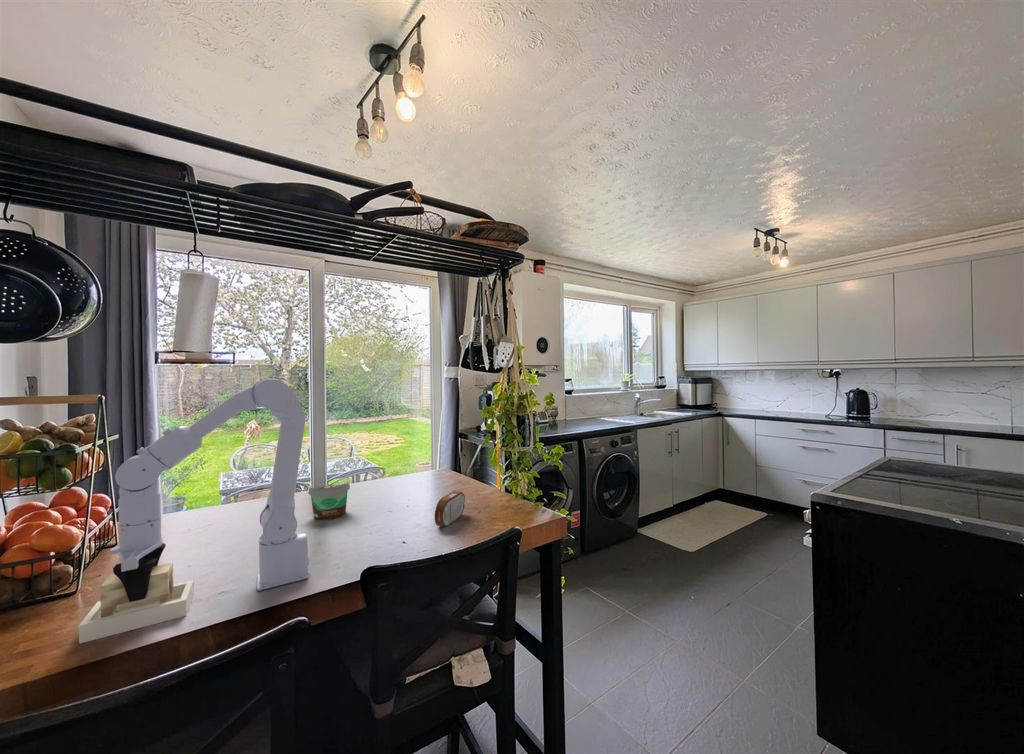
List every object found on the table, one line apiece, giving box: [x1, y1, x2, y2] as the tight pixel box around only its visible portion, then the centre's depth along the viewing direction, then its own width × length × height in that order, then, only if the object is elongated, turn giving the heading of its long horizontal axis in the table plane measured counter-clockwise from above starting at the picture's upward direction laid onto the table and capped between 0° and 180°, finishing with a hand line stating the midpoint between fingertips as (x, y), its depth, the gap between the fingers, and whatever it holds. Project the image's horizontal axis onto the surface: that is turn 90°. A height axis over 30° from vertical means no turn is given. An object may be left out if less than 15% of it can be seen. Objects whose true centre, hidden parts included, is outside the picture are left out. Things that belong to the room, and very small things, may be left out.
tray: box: [78, 579, 195, 644], centre depth 73 cm, size 14×8×3 cm, turn 122°
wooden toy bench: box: [99, 562, 174, 618], centre depth 73 cm, size 9×4×6 cm, turn 122°
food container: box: [307, 480, 351, 521], centre depth 124 cm, size 12×6×10 cm, turn 126°
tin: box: [434, 490, 466, 528], centre depth 118 cm, size 15×3×8 cm, turn 161°
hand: (141, 593), depth 73 cm, fingers closed on wooden toy bench, 4 cm apart
